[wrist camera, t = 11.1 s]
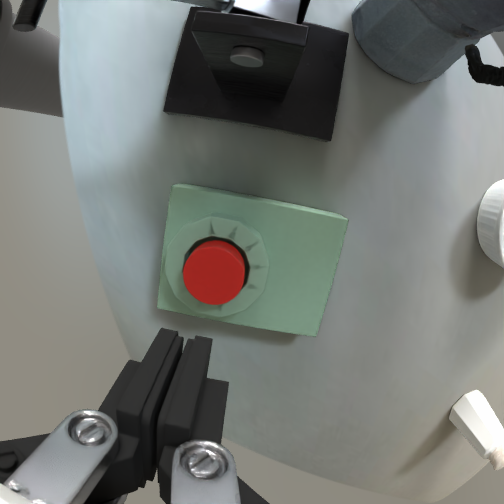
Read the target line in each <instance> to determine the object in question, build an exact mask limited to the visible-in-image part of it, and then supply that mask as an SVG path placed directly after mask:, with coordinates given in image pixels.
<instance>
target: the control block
mask: <svg viewBox="0 0 504 504" xmlns="http://www.w3.org/2000/svg"><path fill="white" fill-rule="evenodd" d="M347 225H348V219H346V218H345V217H343V216H341V215H339V214H337V213H332V212H328V211H324V210H319V209H315V208H310V207H305V206H301V205H296V204H291V203H286V202H281V201H276V200H271V199H266V198H261V197H256V196H251V195H246V194H240V193H235V192H229V191H224V190H218V189H213V188H207V187H201V186H195V185H189V184H183V183H181V184H176V185H172V186H171V192H170V198H169V205H168V212H167V219H166V227H165V235H164V243H163V251H162V260H161V270H160V280H159V291H158V303H157V308H159V309H163V310H168V311H172V312H177V313H182V314H186V315H191V316H196V317H201V318H206V319H211V320H216V321H221V322H227V323H232V324H237V325H243V326H249V327H254V328H260V329H266V330H273V331H279V332H285V333H292V334H299V335H305V336H313V337H316V335H317V332H318V329H319V326H320V323H321V319H322V316H323V313H324V310H325V306H326V303H327V300H328V296H329V293H330V289H331V286H332V282H333V279H334V275H335V271H336V268H337V264H338V260H339V257H340V253H341V249H342V245H343V241H344V237H345V233H346V229H347ZM212 240H219V241H224V242H227V243H229V244H231V245H232V246H234V247H235V248H236V249H237V250H238V251H239V252H240V254H241V255H242V258H243V260H244V264H245V274H244V283H243V286H242V289H241V290H240V292H239V294H238V295H237V296H236V297H235V298H234V299H232V300H231V301H229V302H227V303H224V304H219V305H211V304H206V303H203V302H201V301H199V300H197V299H196V298H194V297H193V296H192V295H191V294H190V293H189V291H188V290H187V288H186V286H185V283H184V280H183V269H184V265H185V263H186V261H187V259H188V258H189V256H190V255H191V254H192V252H193V251H194V250H195V249H196V248H197V247H198V246H199V245H201V244H202V243H204V242H207V241H212Z"/></svg>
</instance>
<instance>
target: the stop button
mask: <svg viewBox="0 0 504 504" xmlns="http://www.w3.org/2000/svg"><path fill="white" fill-rule="evenodd" d="M244 274H245V264H244V260H243V258H242V255H241V254H240V252H239V251H238V250H237V249H236V248H235V247H234V246H232V245H231V244H229V243H227V242H224V241H219V240H212V241H207V242H204V243H202V244H201V245H199V246H198V247H197V248H196V249H195V250H194V251H193V252H192V254H191V255H190V256H189V258H188V259H187V261H186V263H185V265H184V269H183V280H184V283H185V286H186V288H187V290H188V291H189V293H190V294H191V295H192V296H193V297H194V298H196V299H197V300H199V301H201V302H203V303H206V304H211V305H219V304H224V303H227V302H229V301H231V300H232V299H234V298H235V297H236V296H237V295H238V294H239V292H240V290H241V289H242V286H243V283H244Z"/></svg>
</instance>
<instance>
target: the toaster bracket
mask: <svg viewBox="0 0 504 504" xmlns="http://www.w3.org/2000/svg"><path fill="white" fill-rule="evenodd" d="M309 3H310V0H301V3H300V8H299V13H298V18H297V23H296V24H295V23H290V22H285V21H280V20H274V19H268V18H262V17H255V16H248V15H240V14H232V13H222V11H221V10H217V9H213V8H208V7H191V8H190V11H189V14H188V17H187V21H186V24H185V27H184V31H183V34H182V38H181V41H180V45H179V48H178V52H177V56H176V59H175V63H174V67H173V71H172V75H171V79H170V83H169V88H168V92H167V96H166V101H165V105H164V110H163V112H165V113H167V114H170V115H179V116H188V117H196V118H203V119H210V120H217V121H224V122H230V123H236V124H242V125H248V126H253V127H259V128H264V129H269V130H274V131H279V132H284V133H289V134H293V135H298V136H302V137H306V138H311V139H315V140H319V141H323V142H330V141H331V139H332V134H333V128H334V123H335V117H336V112H337V106H338V100H339V95H340V89H341V83H342V77H343V70H344V64H345V57H346V51H347V44H348V37H349V33H346V32H343V31H339V30H336V29H332V28H329V27H325V26H321V25H317V24H313V23H309V22H304V18H305V15H306V12H307V9H308V6H309Z"/></svg>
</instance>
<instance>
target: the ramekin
mask: <svg viewBox="0 0 504 504" xmlns="http://www.w3.org/2000/svg"><path fill="white" fill-rule="evenodd" d="M477 235H478V239H479V243H480V246H481V248H482V250H483V251H484V253H485V254H486V255H487V256H488V257H489V258H490V259H491V260H492V261H494V262H495V263H497V264H498V265H500V266H501V267H502V268H504V180H501V181H498V182H496V183H494V184H493V185H492V186H491V187H490V188H489V189H488V190H487V192H486V193H485V195H484V197H483V199H482V201H481V204H480V207H479V211H478V217H477Z"/></svg>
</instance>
